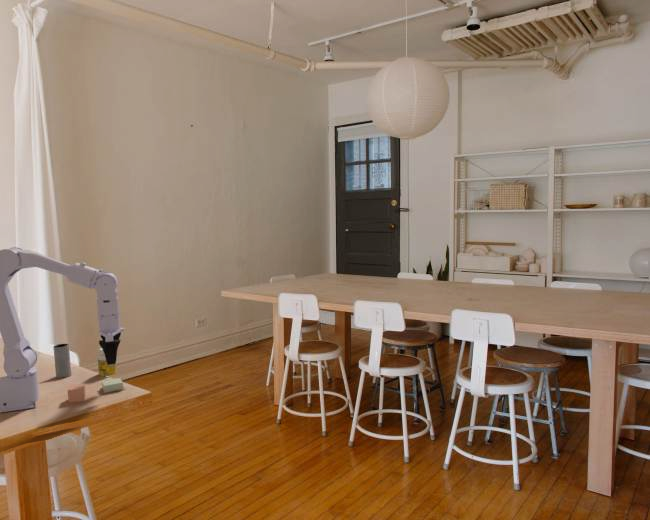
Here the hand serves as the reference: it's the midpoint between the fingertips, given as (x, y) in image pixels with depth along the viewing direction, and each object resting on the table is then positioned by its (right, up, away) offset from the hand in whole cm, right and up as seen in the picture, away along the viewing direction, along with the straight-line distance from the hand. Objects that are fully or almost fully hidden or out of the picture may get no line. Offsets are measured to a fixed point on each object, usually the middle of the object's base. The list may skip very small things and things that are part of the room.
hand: (112, 360), depth 154 cm
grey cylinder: (-25, -9, +22) cm, 34 cm away
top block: (0, -8, +2) cm, 9 cm away
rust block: (-7, -11, -6) cm, 14 cm away
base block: (0, -10, +2) cm, 11 cm away
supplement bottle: (-8, -9, +18) cm, 22 cm away
